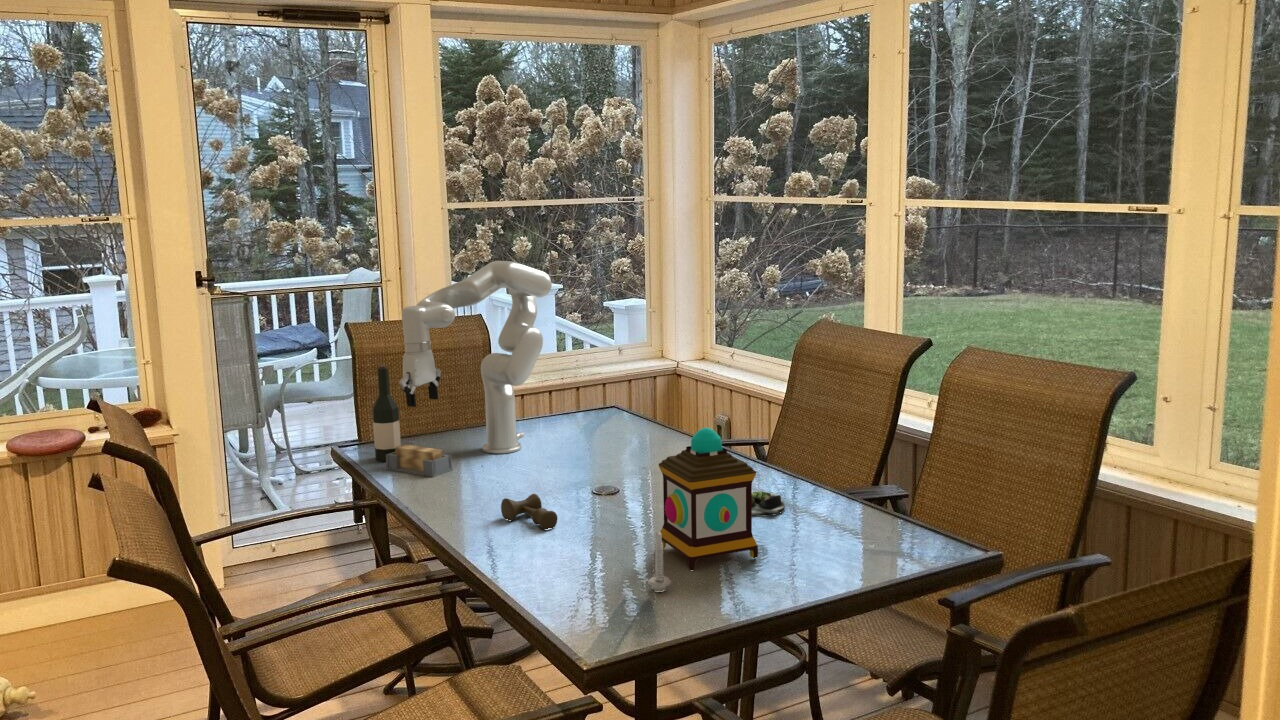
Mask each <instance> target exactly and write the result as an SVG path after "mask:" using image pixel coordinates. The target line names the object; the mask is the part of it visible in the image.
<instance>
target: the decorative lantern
mask: <svg viewBox="0 0 1280 720" xmlns="http://www.w3.org/2000/svg"><path fill="white" fill-rule="evenodd" d="M690 442H691V443H690V445H687V446H686V447H685V448H686V449H684V450H681V452H680V453H677V454H676V455H670V456H666V458H665V459H663V460H661V462H659V463H658V468H659V470H660V471H661V474H662V482H663V483H662V484H663V485H662V487H663V488H662V489H663V490H662V491H663V492H662V493H663V525H662V527H661V529H660V531H659V532H660V533H661V534H662V542H663V544H662V545H663V548H664V549H665V548H666V544H667V545H668V546H670V547H671V548H672V549H674V550H675V551H677V552H678V553H679V554H681V555H682V556H683V557H685V558H686V561H687V565H688V570H689V571H690V570H694V571H695V568H696V564H697V561H698V560H701V559H707V558H711V557H717V556H723V555H728V554H734V553H735V554H736V553H738V552H739V553H741V552H743V551H744V552H745V551H749V556H751V557H753V558H755V557H757V558H758V555H759V546H758V543H757V541H756V539H755V538H754V536H753V530H752V529H753V525H752V520H753V516H752V493H753V491H752V486H753V481H754V479H755V478H756V475H757V470H755V469H754V468H753V467H752V466H750V465H748V463H747V462H746V461H743V460H741V459H739V458H737V457H735V456H733V455H732V454H731V453H729V452H728V450H727V449H726V448H724V447H722V446H723V443H722V438H721V436H720V435H719V434H718V433H717V432H716V431H715V430H714V429H712V428H710V427H703V428H699V430H698V431H697V432H696V433H695V434H694V435H693V436H692V437H691V441H690ZM751 557H750V558H751Z"/></svg>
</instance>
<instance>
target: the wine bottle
mask: <svg viewBox="0 0 1280 720" xmlns="http://www.w3.org/2000/svg"><path fill="white" fill-rule="evenodd" d="M389 374H390V373H389V368H388V367H387V364H385V365H384V364H382V365H378V368H377V384H378V396H377V398H376V400H375V401H374V403H373V405H372V407H371V411H372V412H371V413H372V428H373V440H374V455H375V456H374V457H375V461H376V462H377V463H386V454H389V453H393V452H396V451H395V447H398V446H401V445H402V443H401V440H402V439H401V430H400V429H401V427H400V426H401V425H400V411H399V406H398V405H397V402H396V401H395V400H394V399H393V396H392V395H391V391H390V376H389Z"/></svg>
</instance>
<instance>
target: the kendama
mask: <svg viewBox="0 0 1280 720" xmlns="http://www.w3.org/2000/svg"><path fill="white" fill-rule="evenodd" d="M500 511H501V515H502V517H503V519H504V518H505V519H508V520H512V521H513V520H514V519H515V518H516V517H518V515H522V514H527V515H528V516H530V518H532V522H533V524H534V525H537V524H540V525H539V527H540V528H541V530H543V529H548V528H553V527H554V528H555V527H556V526H557V523H558V515H557V513H556V512H555V511H553V510H547V509H546V508H544V507H543V506H542V501H541V498H540V496H539V495H538V494H536V493H531V494H530V495H529V496H528V497H527V498H526V499H523V500H519V501H515V500H513V499H510V498H503V499H502V500H501V504H500ZM505 519H504V520H505ZM554 528H553V529H554Z"/></svg>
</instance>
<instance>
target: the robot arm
mask: <svg viewBox="0 0 1280 720" xmlns="http://www.w3.org/2000/svg"><path fill="white" fill-rule="evenodd" d="M552 284H553V283H552V280H551V277H550V275H549V274H548V273H547V272H545V271H543V270H540V269H538V268H534V267H531V266H529V265H526V264H522V263H519V262H516V261H511V260H509V261H508V260H506V261H505V260H494V261H491V262H489V263H487V264H486V265H484V266H482V267H481V268H479V269H478V270H477V271H475V272H473V273H472V274H471V275H469V276H468V277H466V278H464V279H462V280H460V281H458V282H455V283H453V284H450V285H448V286H445V287H442V288H440V289H438V290H436V291H433V292H432V293H430V294H429V295H427V296H426V297H424V298H423V299H422V300H420V301H418V302H417V304H416V305H410V306H405V307H403V308H402V310H401V318H402V319H401V320H402V328H403V330H402V331H403V340H404V349H405V350H404V351H405V353H403V357H402V377H401V379H399V381H398V384H399V386H400V389H401V390H402V391H403V394H405V398H406V406H407V407H412V408H415V407H417V400H416V399H417V395H416V393H414V392H415V390H416V388H417V387H420V386H423V385H427V384H428V387H427V389H428V398H429V399H430V400H438V399H439V392H438V391H439V390H438V386H439V384H440V383H439V382H440V381H441V374H442V370H441V369H440V368H436V363H435V359H434V358H435V357H434V353H433V351H432V348H431V346H432V345H431V344H432V341H431V338H430V337H431V336H430V329H439V328H442V329H443V328H447V327H449V326H450V325H452V324H453V322H454V321H455V318H456V314H455V313H456V312H455V310H454V309H458V308H464V307H469V306H474V305H477V304H479V303H480V302H482V301H483V300H485V299H487V298H488V297H490V296H491V295H492V294H493V293H495V292H497V291H499V290H500V289H503V288H505V289H508V290H509V293H510V296H511V302H512V306H511V309H510V312H509V314H508V316H507V318H506V321H505V322H504V325H503V327H502V329H501V331H500V333H499V336H498V339H497V341H498V342H497V343H498V346H499V348H500V349H502V350H503V351H504V352H507V353H511V354H507V353H501V352H494V353H493V352H492V353H489V354H487V355H485V356H484V358H483V359H482V360H481V364H480V375H481V379H482V382H483V390H484V401H485V403H484V404H485V406H484V407H485V423H486V424H485V427H486V429H485V430H486V443H485V444H484V445H482V446H481V447H482V451H483V452H484V453H488V454H496V455H497V454H500V455H501V454H509V453H510V454H511V453H514V452H518V451H520V450H522V443H520V442H519V440H520V439H523V438H525V432H523V431H520V432H517V425H516V424H517V420H516V419H517V418H516V399H515V391H514V387H519V386H521V385H523V384H524V383H525V382H527V380H528V379H529V377H530V375H531V373H532V371H533V369H534V367H535V365H536V362H537V360H538V358H539V356H540V354H541V351H542V349H543V343H544V338H543V335H542V334H543V333H542V332H541V331H540V329H538V327H535V326H534V324H535V321H536V319H537V315H538V308H537V307H538V305H537V301H536V298H543V297H545V296H547V295H548V294H549V293H550V292H551V289H552Z"/></svg>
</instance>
